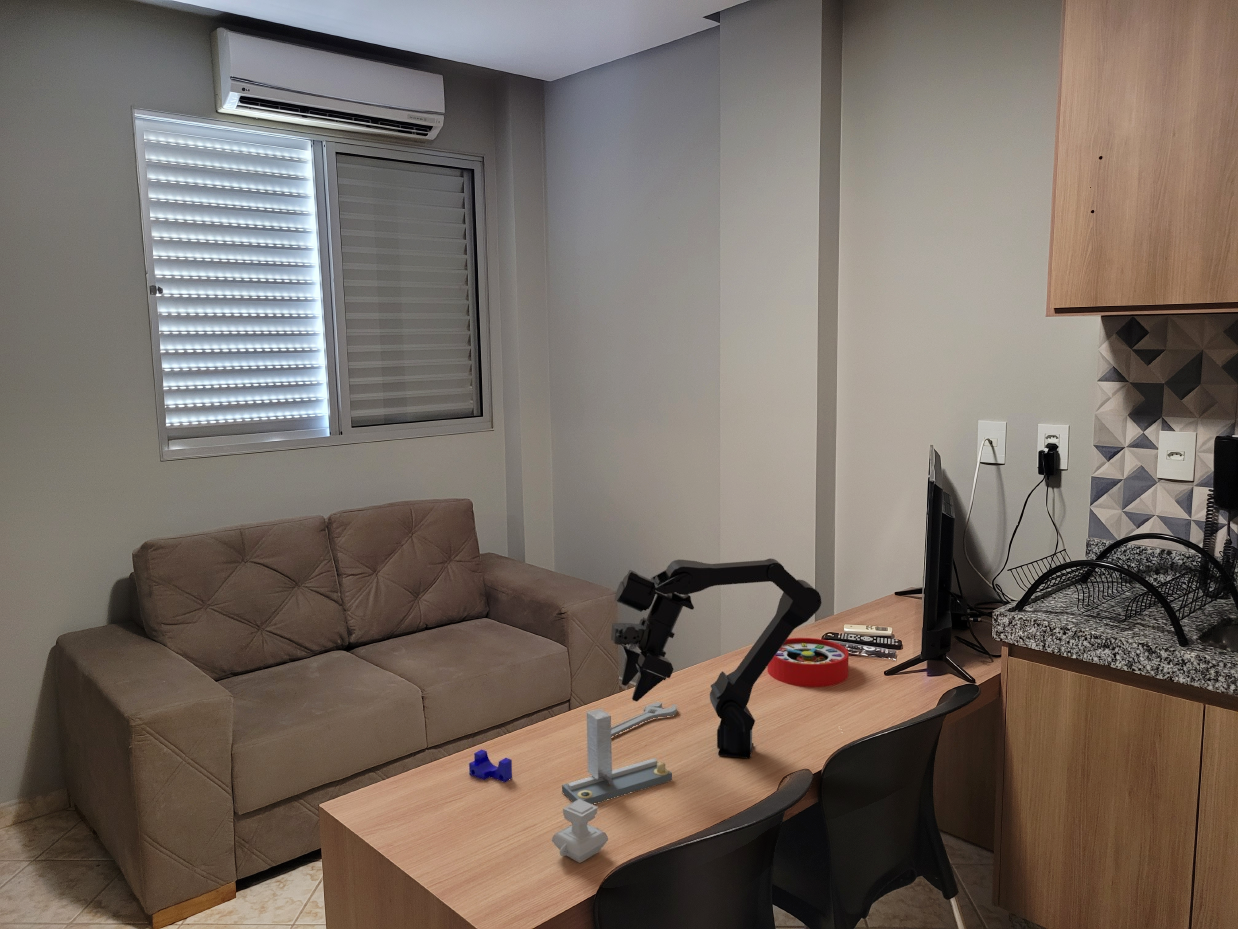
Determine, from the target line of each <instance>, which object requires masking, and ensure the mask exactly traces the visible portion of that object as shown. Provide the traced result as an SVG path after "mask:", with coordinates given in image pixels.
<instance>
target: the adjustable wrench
mask: <svg viewBox="0 0 1238 929" xmlns="http://www.w3.org/2000/svg"><path fill="white" fill-rule="evenodd" d="M661 707H662V708H661ZM677 707H678V706H677V705H676V704H674V703H673V704H672V705H671V706H670V707H667V708H663V702H662V701H659V702H653V703H651V704H648V705H645V706H644V709H643V712H642V713H641V714H638V715H636V716H634V717H631V718H629V719H626V720H624V721H622V722H619V723H618V724H616V725H613V726H611V737H612V736H615V735H616V734H619V733H620V732H623V731H625V730H627V729H630V728H632V727H633V726H636V725H639V724H640V723H642V722H645V721H648V720H650V719H653V718H658V717H667V716H672V717H674V716H673V715H675V714H676V713H677V714H678V710H677V709H678V708H677ZM677 714H676V715H677ZM676 715H675V716H676Z"/></svg>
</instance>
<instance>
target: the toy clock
mask: <svg viewBox="0 0 1238 929" xmlns="http://www.w3.org/2000/svg"><path fill="white" fill-rule="evenodd" d="M849 656H850V655H849V650H848V649H847V648H846V647H845V646H843V645H841V644H839V643H837V642H834V641H831V640H826V639H823V638H821V639H820V638H815V637H814V638H813V637H791V638H789V637H788V638H787V640H786V641H785V642H784V644H783V645H782V646H781V648H780V649H779V651H778V652H777V653H776V655H775V656H774V657H773V659H772V660H771V662H770V663H769V664H768V666H767V667H766V669H767V670H766V671H767V673H768V675H769V676H770V677H771V678H773V679H774V680H776V681H778V682H781V683H784V684H787V685H791V686H797V687H804V688H805V687H807V688H823V687H831V686H836V685H839V684H841V683H843V682H845V681H846V680H847V679H848V677H849Z"/></svg>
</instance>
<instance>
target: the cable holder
mask: <svg viewBox="0 0 1238 929" xmlns="http://www.w3.org/2000/svg"><path fill="white" fill-rule="evenodd" d="M473 758H474V760H473V761H471V762H469V763H468V767H469V768H468V769H469V770H468V771H469V776H472V777H475V778H477V779H480V780H482V781H483V780H484V781H485V780H487V779H489V778H491V777H492V779H493V780H494V779H495V780H497V779H498V780H497V781H499V780H500V781H499V782H502V781H503V782H502V783H507V782H509V781H510V780H512V779H513V763H512V761H513V760H512V759H511V758H507V757H504V758H502V759H501V760H499V761H498V765H497V766H496V765H495V764H494V763H493V762H491V759H490V758H489V756H488V751H487V750H485V749H479V750H478V751H476V752H474V753H473ZM511 778H512V779H511ZM509 779H510V780H509ZM508 780H509V781H508Z"/></svg>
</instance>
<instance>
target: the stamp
mask: <svg viewBox="0 0 1238 929" xmlns="http://www.w3.org/2000/svg"><path fill="white" fill-rule="evenodd" d="M598 809H599V806H598V805H597V806H596V805H595V804H594V805H592V804H590V803H587V802H585V801H583V800H581V799H578V800H576V801H575V802H571V803H570V804H568V805H567V806H565V807H563V808H562V815H563V818H564V820H566V821H567V822H570V823H571V825H568V826H566V827H565V828H562V830H559V831H558V832H555V833H554V834H553V835H552V839H551V842H552V843H553V844H554V845H555V847H556V848H558V850H559V855H560V856H561V857H565V856H567V857H569V858H570V859H572V860H574V861H575V862H577V863H580V864H581V863H583V862H584V861H586V860H587V859H590V858H591V857H593V856H594V855H596V854H598V853H599V852H600V851H601V850H602V848H603V847H604V846H605V845H606V844H607V842H608V841H609V837H608V834H607V833H606V831H605V832H604V831H603V830H600V828H598V827H597V826H593V825H591V824H589V822H591V821H592V820H594V819H595V818H596V816H597V815H598Z"/></svg>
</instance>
